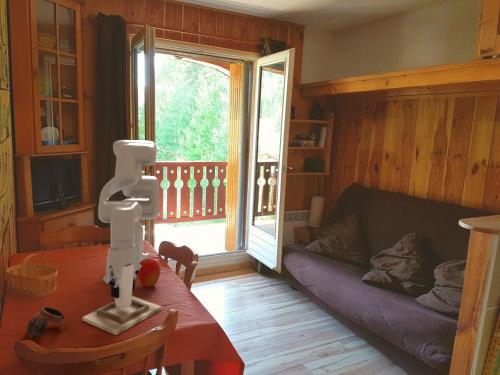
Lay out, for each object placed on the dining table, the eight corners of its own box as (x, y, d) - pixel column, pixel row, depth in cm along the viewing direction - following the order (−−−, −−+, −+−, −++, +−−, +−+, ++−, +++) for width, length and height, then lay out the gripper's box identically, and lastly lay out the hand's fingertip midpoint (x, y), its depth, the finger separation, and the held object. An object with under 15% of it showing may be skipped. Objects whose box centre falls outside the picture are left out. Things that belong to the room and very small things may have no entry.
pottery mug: (28, 327, 117) (42, 302, 119) (57, 338, 119) (70, 314, 121) (15, 338, 106) (31, 311, 107) (47, 350, 107) (62, 323, 109)
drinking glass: (127, 311, 122) (127, 268, 120) (108, 308, 124) (108, 265, 121) (137, 302, 129) (137, 261, 126) (119, 299, 130) (119, 258, 128)
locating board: (129, 298, 139) (129, 291, 139) (161, 309, 131) (161, 302, 131) (82, 320, 122) (82, 312, 121) (116, 335, 114) (116, 327, 114)
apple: (164, 284, 152) (164, 256, 151) (150, 292, 144) (150, 263, 142) (147, 279, 156) (147, 252, 154) (131, 287, 148) (131, 258, 146)
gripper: (134, 234, 132) (134, 282, 135) (93, 247, 117) (94, 300, 120) (149, 238, 128) (149, 287, 131) (109, 252, 113) (110, 306, 116)
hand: (123, 292), depth 125 cm, fingers closed on drinking glass, 6 cm apart
